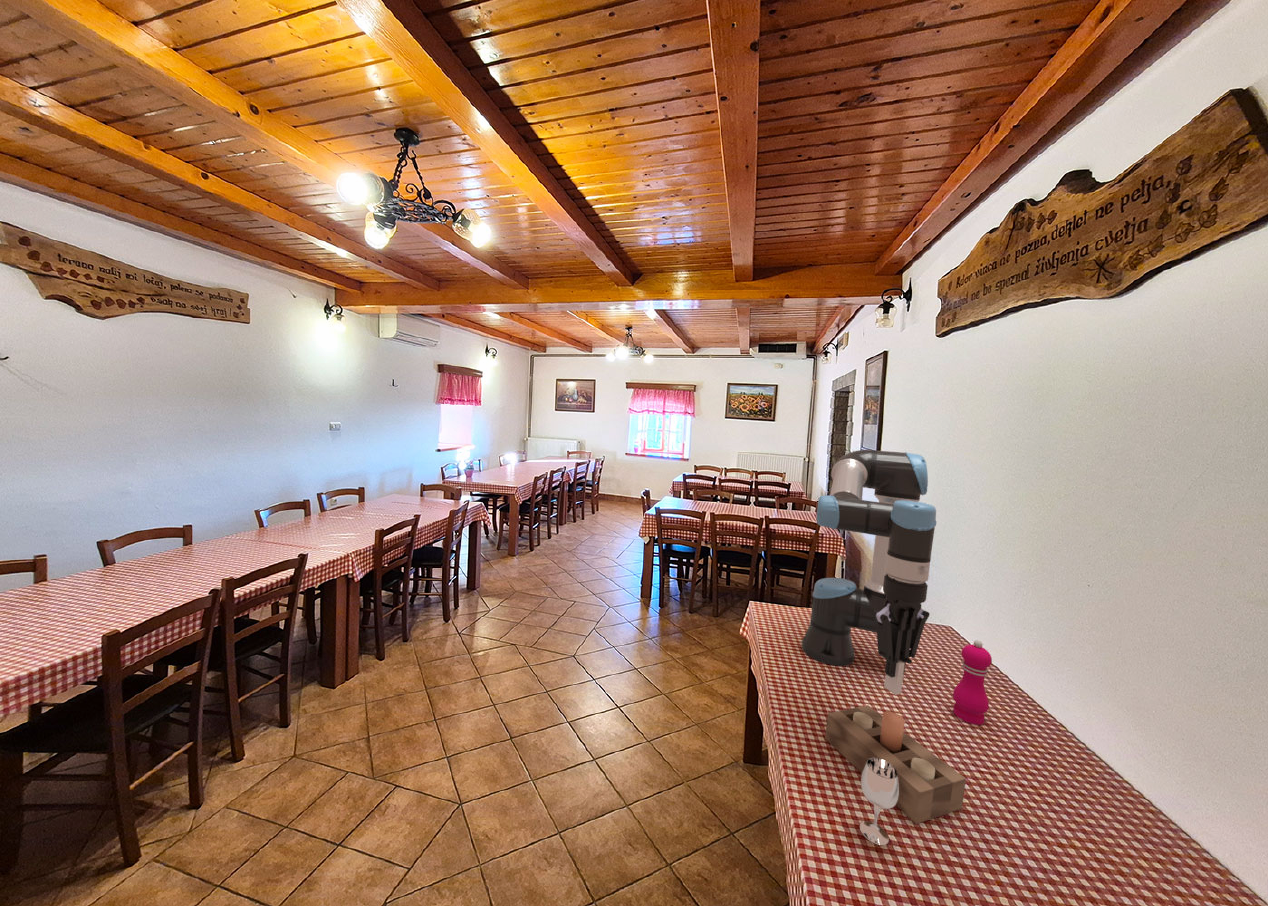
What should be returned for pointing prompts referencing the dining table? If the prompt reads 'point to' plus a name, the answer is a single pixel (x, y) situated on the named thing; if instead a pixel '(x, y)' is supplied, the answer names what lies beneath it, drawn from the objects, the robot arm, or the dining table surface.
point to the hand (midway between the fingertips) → (892, 690)
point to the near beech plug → (923, 769)
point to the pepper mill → (972, 685)
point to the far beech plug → (862, 720)
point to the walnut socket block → (898, 765)
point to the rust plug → (892, 731)
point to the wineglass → (879, 795)
